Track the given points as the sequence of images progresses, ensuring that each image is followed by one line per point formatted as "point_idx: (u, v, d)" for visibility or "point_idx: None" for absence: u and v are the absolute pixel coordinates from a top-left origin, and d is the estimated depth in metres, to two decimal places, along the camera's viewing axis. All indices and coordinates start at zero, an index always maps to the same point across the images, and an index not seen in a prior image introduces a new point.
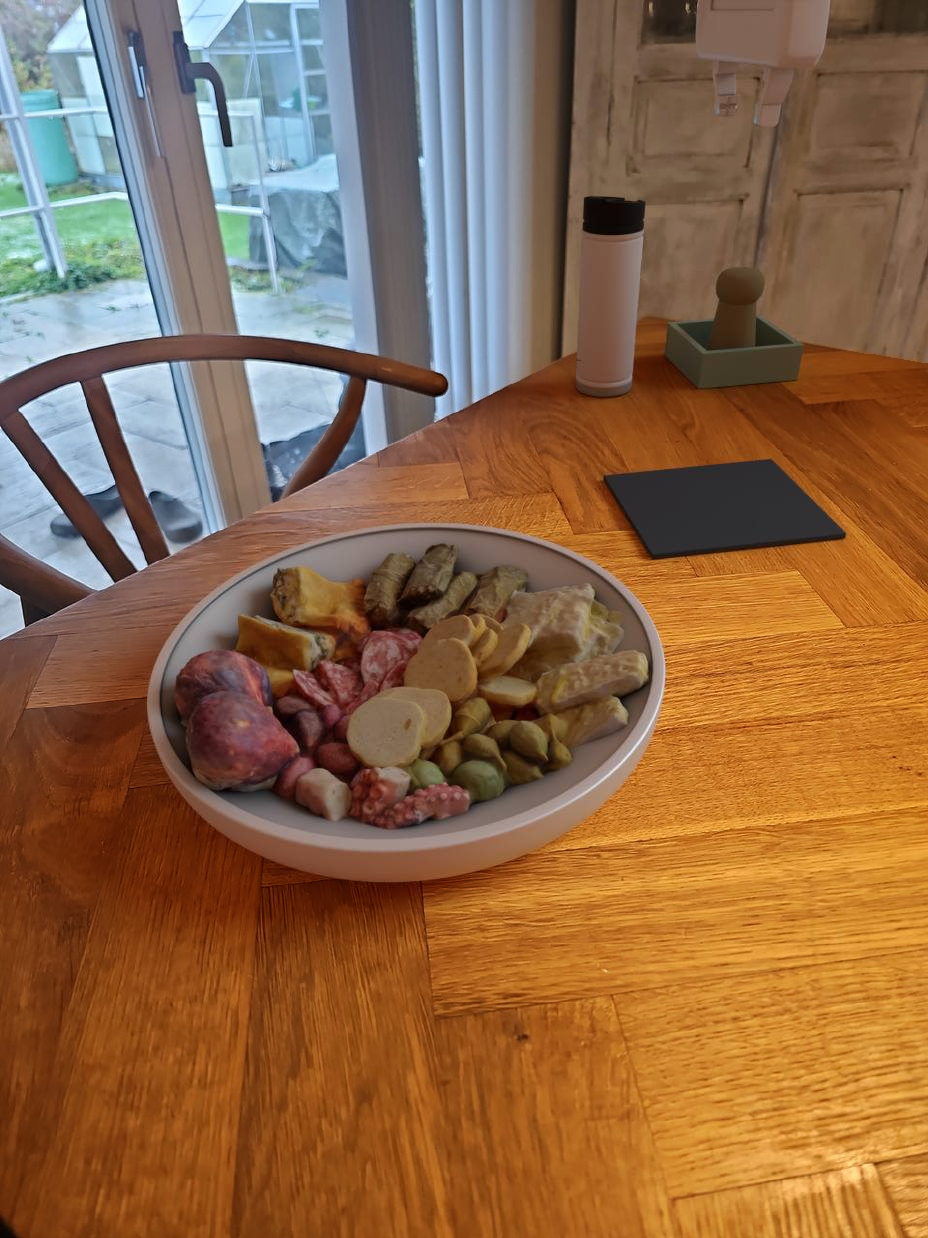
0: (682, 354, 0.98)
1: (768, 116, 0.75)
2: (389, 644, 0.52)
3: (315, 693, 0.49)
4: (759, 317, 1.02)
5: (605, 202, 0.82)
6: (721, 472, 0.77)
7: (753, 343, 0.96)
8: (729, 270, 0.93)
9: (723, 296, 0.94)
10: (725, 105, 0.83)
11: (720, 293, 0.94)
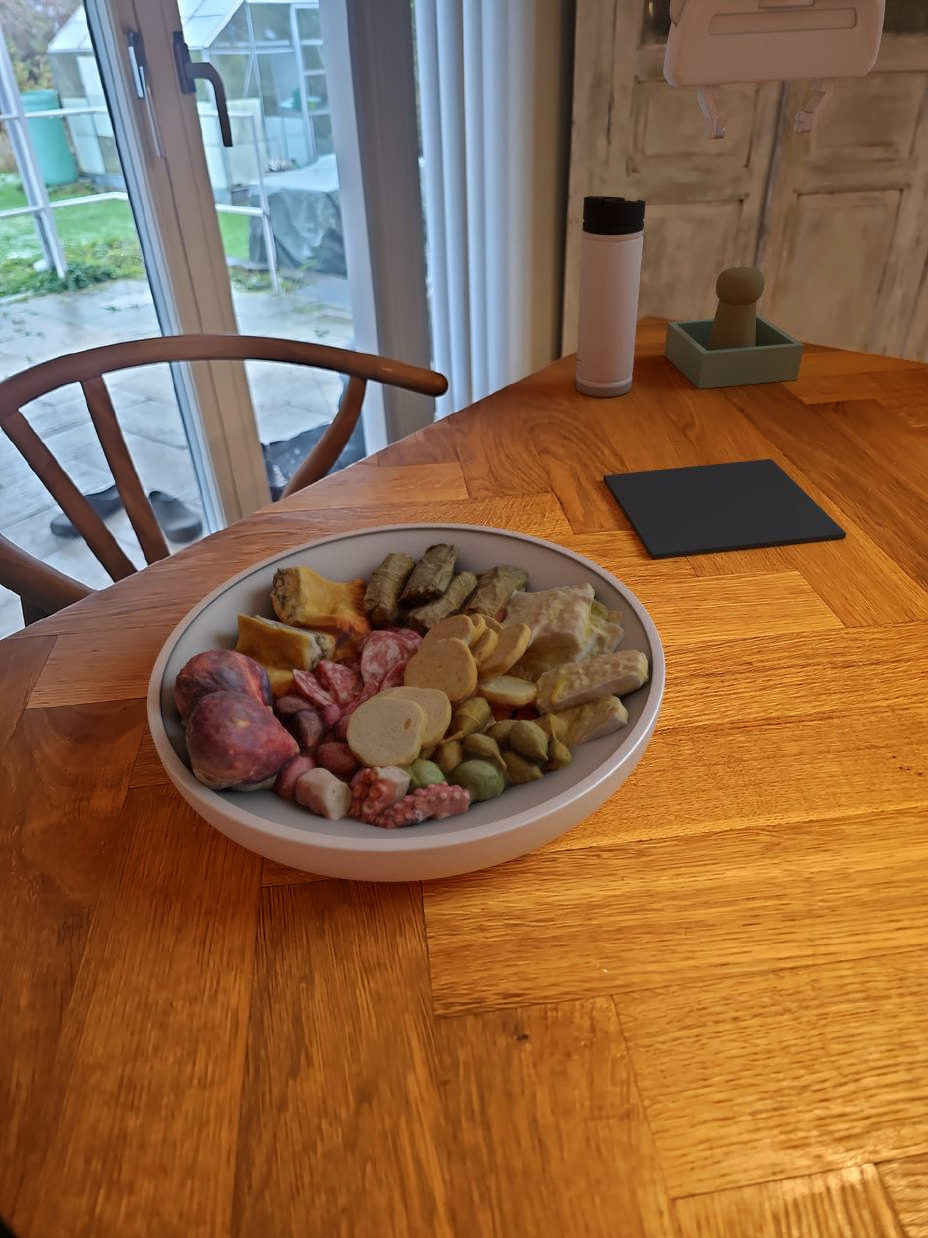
0: (682, 354, 0.98)
1: (707, 129, 0.84)
2: (389, 644, 0.52)
3: (315, 693, 0.49)
4: (759, 317, 1.02)
5: (605, 202, 0.82)
6: (721, 472, 0.77)
7: (753, 343, 0.96)
8: (729, 270, 0.93)
9: (723, 296, 0.94)
10: (797, 121, 0.85)
11: (720, 293, 0.94)
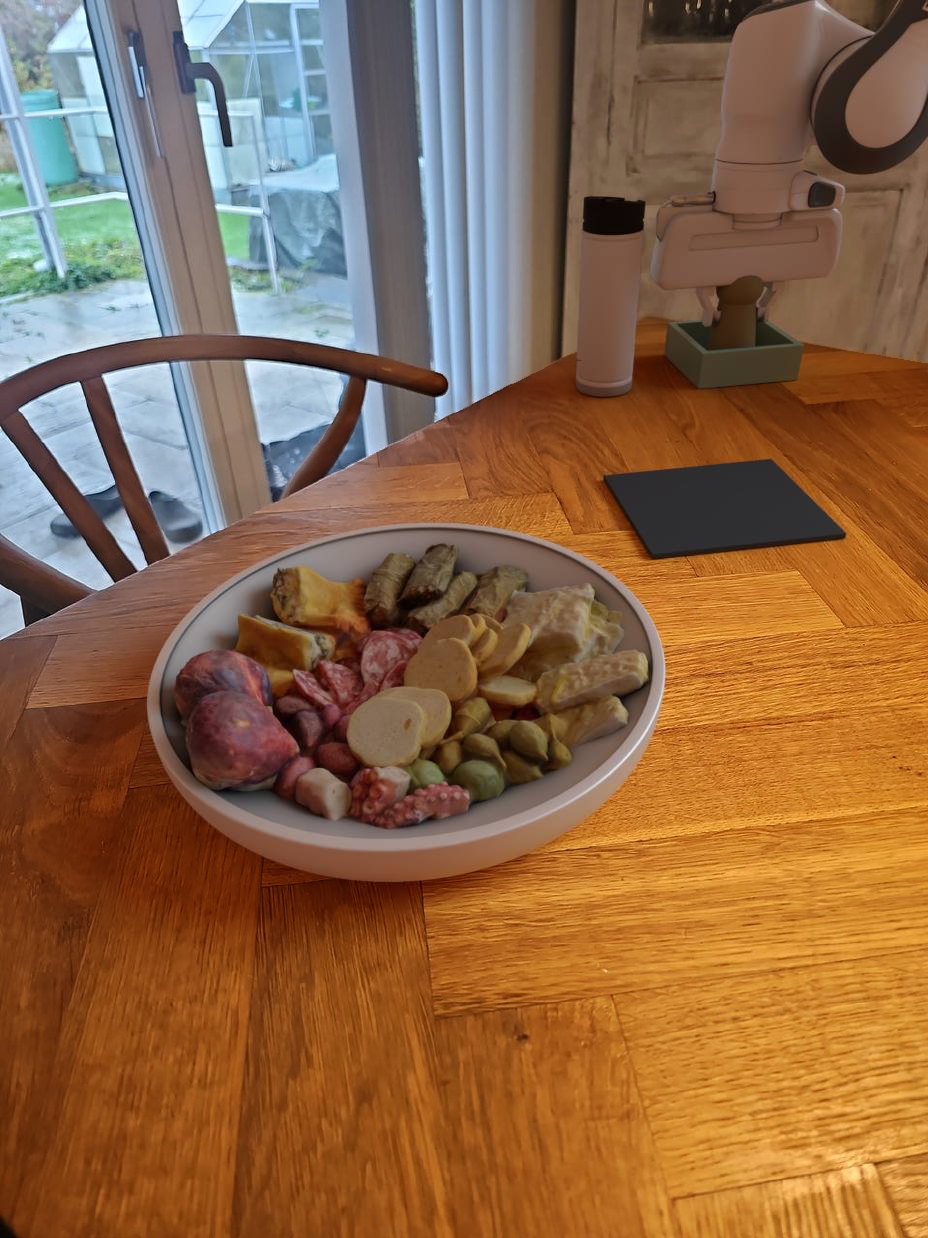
0: (682, 354, 0.98)
1: (704, 317, 0.96)
2: (389, 644, 0.52)
3: (315, 693, 0.49)
4: None
5: (605, 202, 0.82)
6: (721, 472, 0.77)
7: (753, 343, 0.96)
8: None
9: (723, 296, 0.94)
10: None
11: (720, 293, 0.94)
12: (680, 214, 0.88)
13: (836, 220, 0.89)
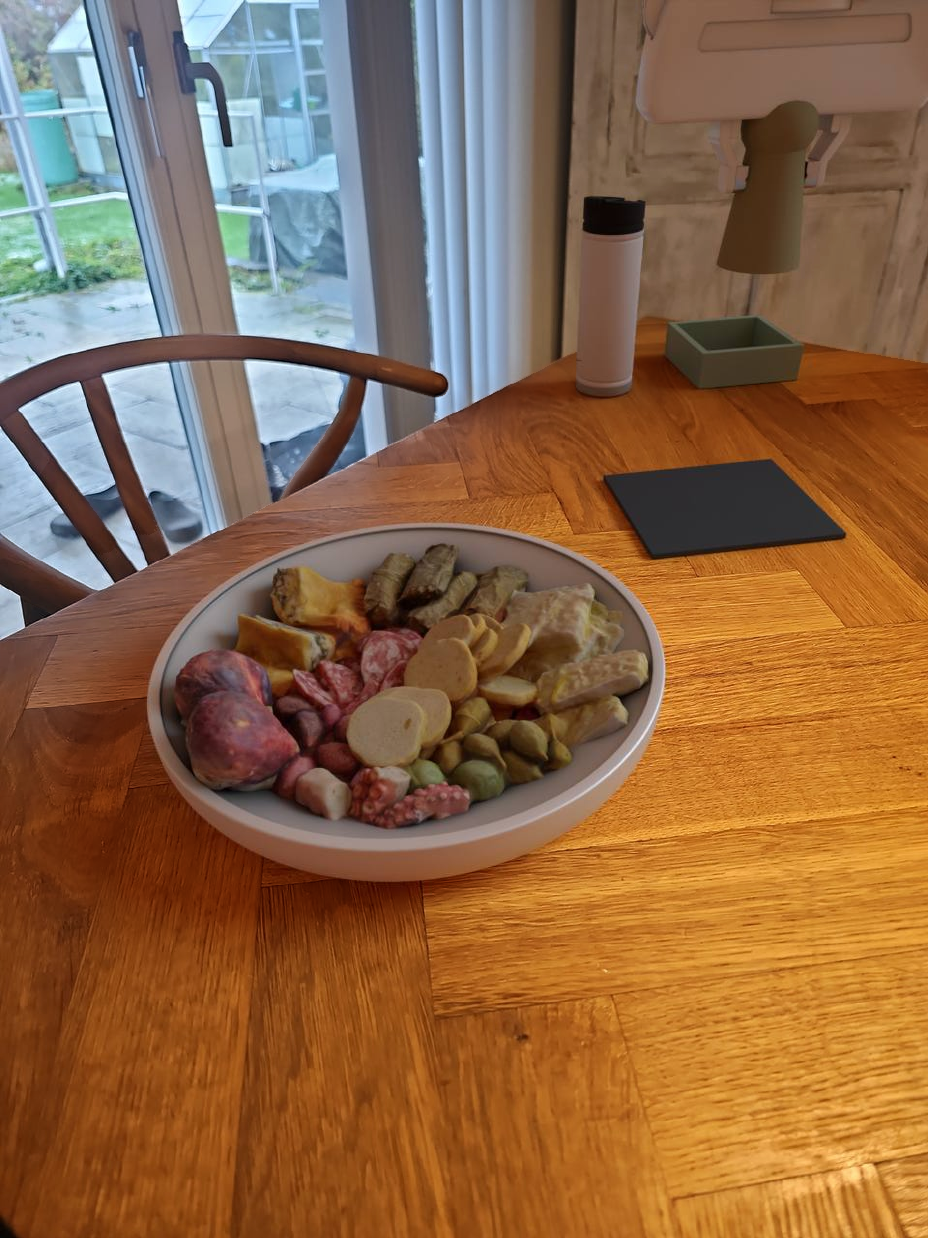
0: (682, 354, 0.98)
1: (722, 179, 0.60)
2: (389, 644, 0.52)
3: (315, 693, 0.49)
4: (759, 317, 1.02)
5: (605, 202, 0.82)
6: (721, 472, 0.77)
7: (799, 221, 0.61)
8: None
9: (753, 139, 0.58)
10: None
11: (748, 135, 0.58)
12: None
13: None
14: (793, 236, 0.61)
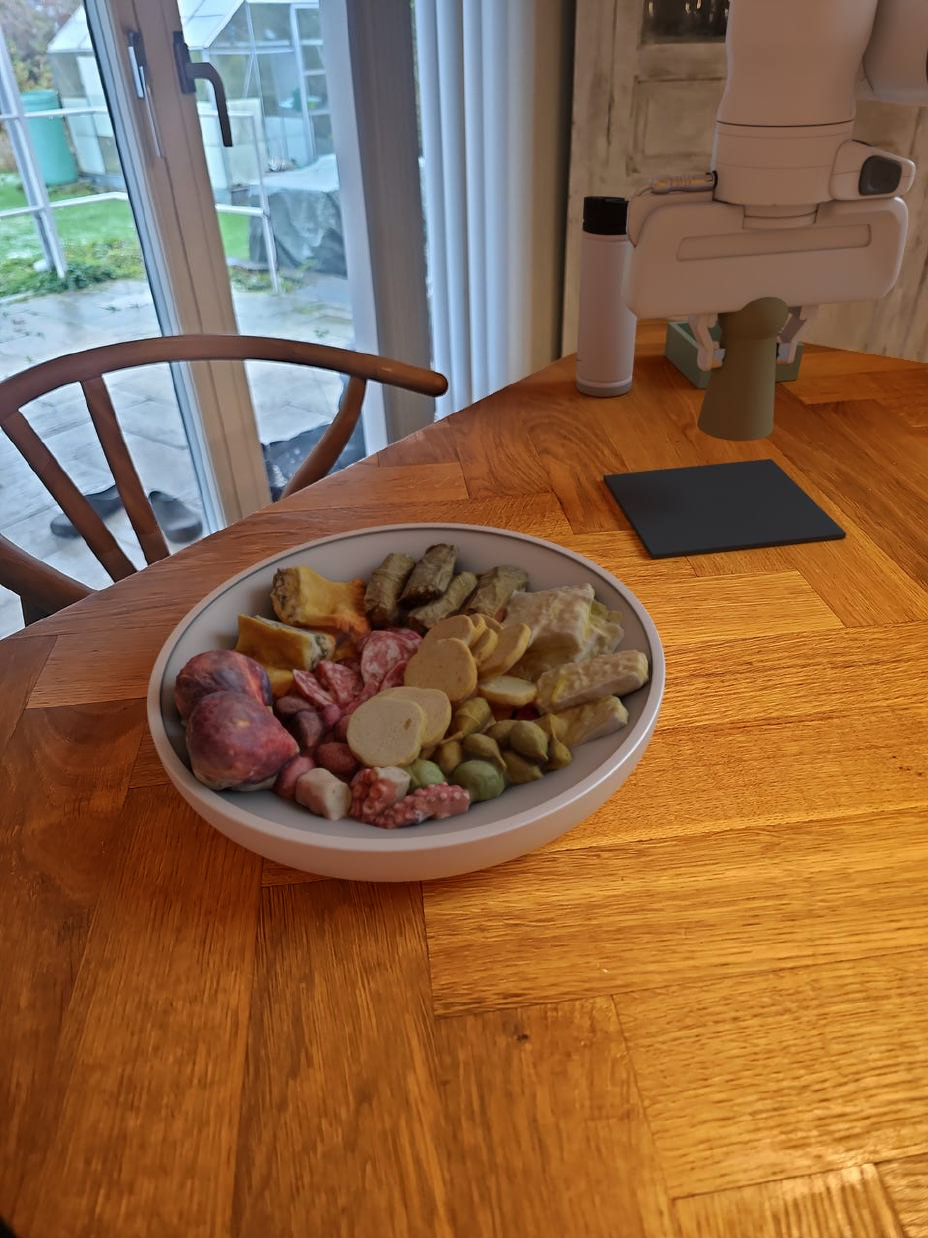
0: (682, 354, 0.98)
1: (700, 357, 0.66)
2: (389, 644, 0.52)
3: (315, 693, 0.49)
4: None
5: (605, 202, 0.82)
6: (721, 472, 0.77)
7: (771, 394, 0.66)
8: None
9: (728, 327, 0.64)
10: None
11: (724, 323, 0.64)
12: (664, 206, 0.58)
13: (899, 215, 0.59)
14: (766, 408, 0.66)
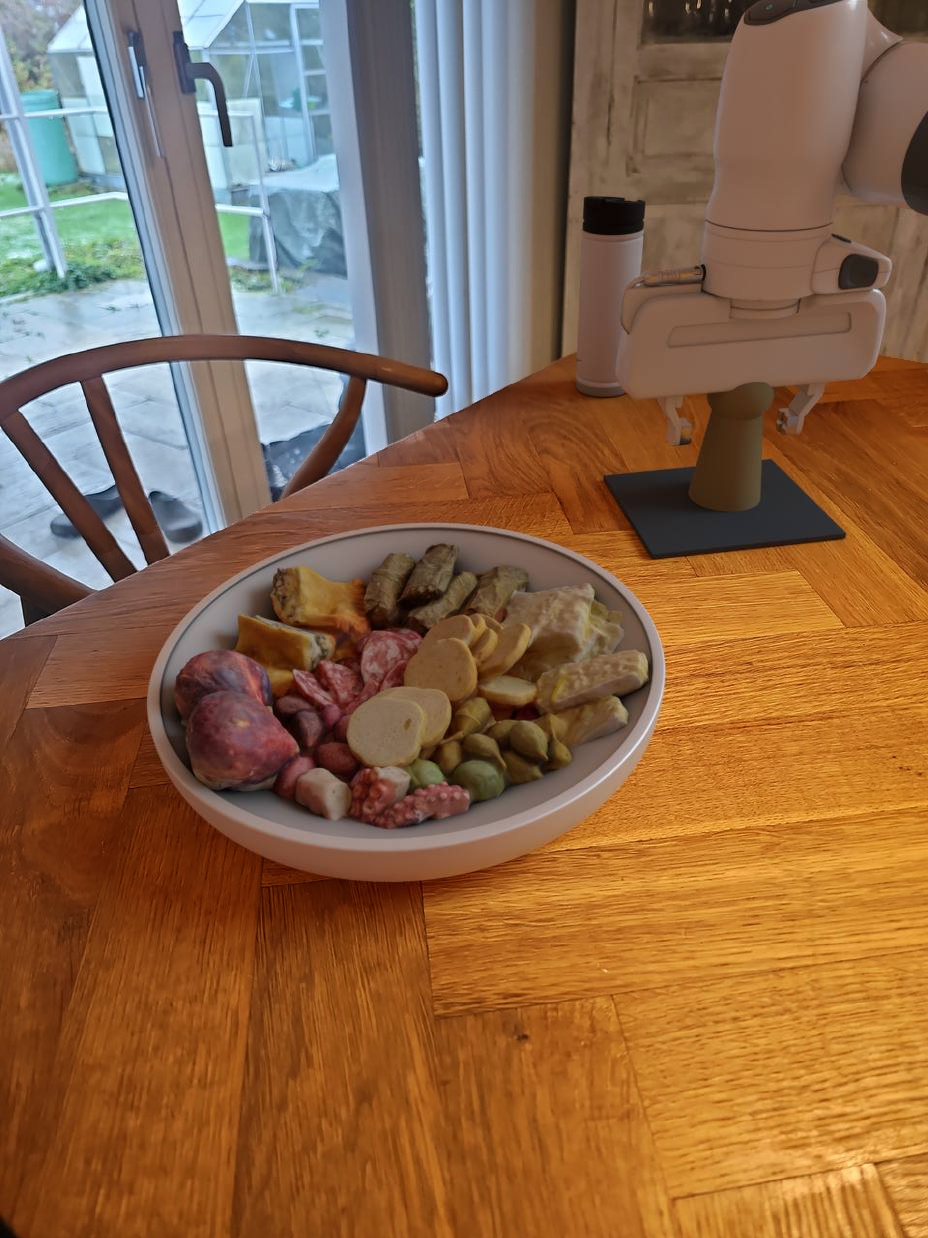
0: None
1: (669, 433, 0.69)
2: (389, 644, 0.52)
3: (315, 693, 0.49)
4: None
5: (605, 202, 0.82)
6: None
7: (758, 468, 0.70)
8: None
9: (717, 408, 0.67)
10: (779, 420, 0.70)
11: (713, 404, 0.67)
12: (656, 298, 0.62)
13: (877, 305, 0.63)
14: (754, 481, 0.70)
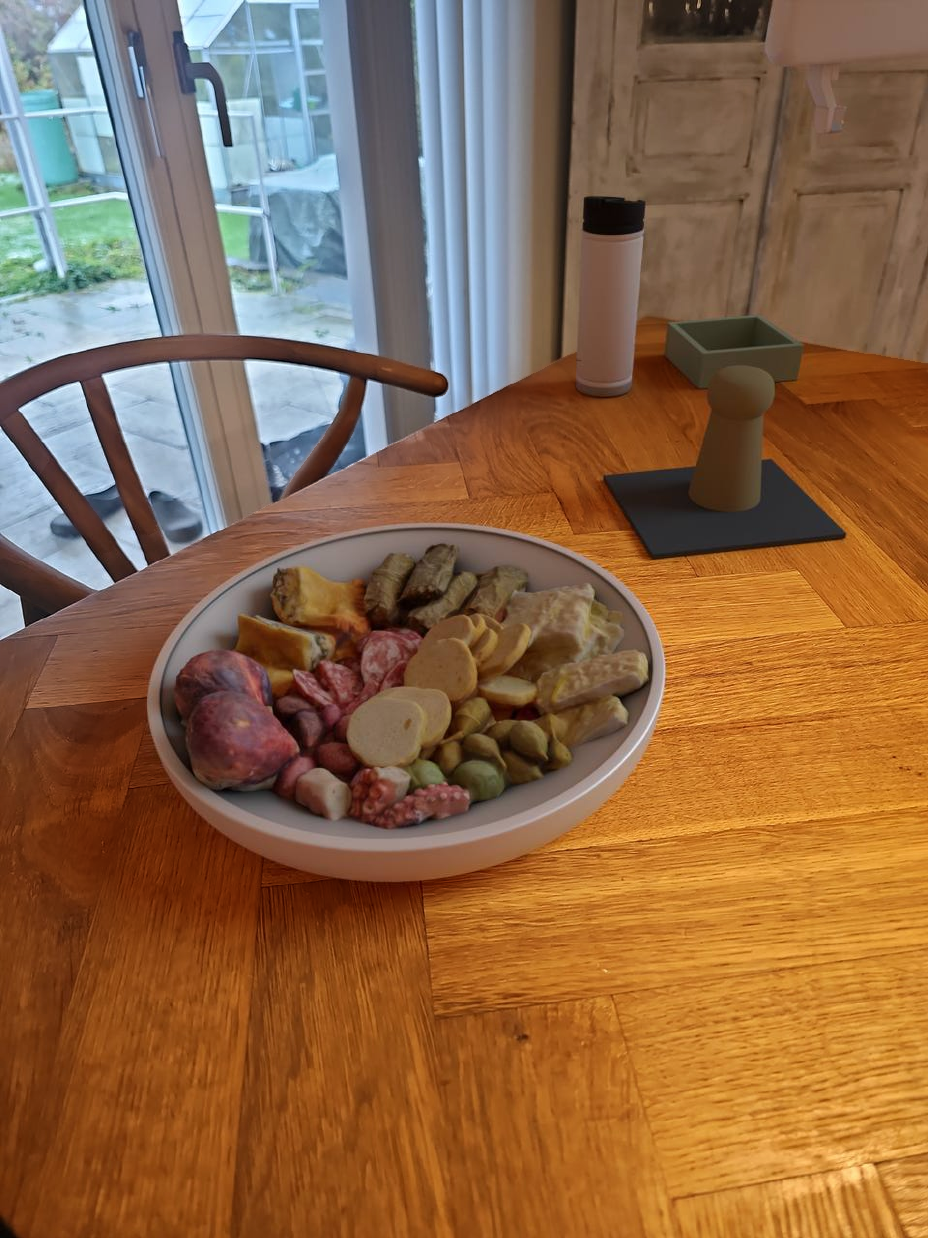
0: (682, 354, 0.98)
1: (819, 121, 0.65)
2: (389, 644, 0.52)
3: (315, 693, 0.49)
4: (759, 317, 1.02)
5: (605, 202, 0.82)
6: None
7: (758, 468, 0.70)
8: (725, 372, 0.67)
9: (717, 408, 0.67)
10: None
11: (713, 404, 0.67)
12: None
13: None
14: (754, 481, 0.70)
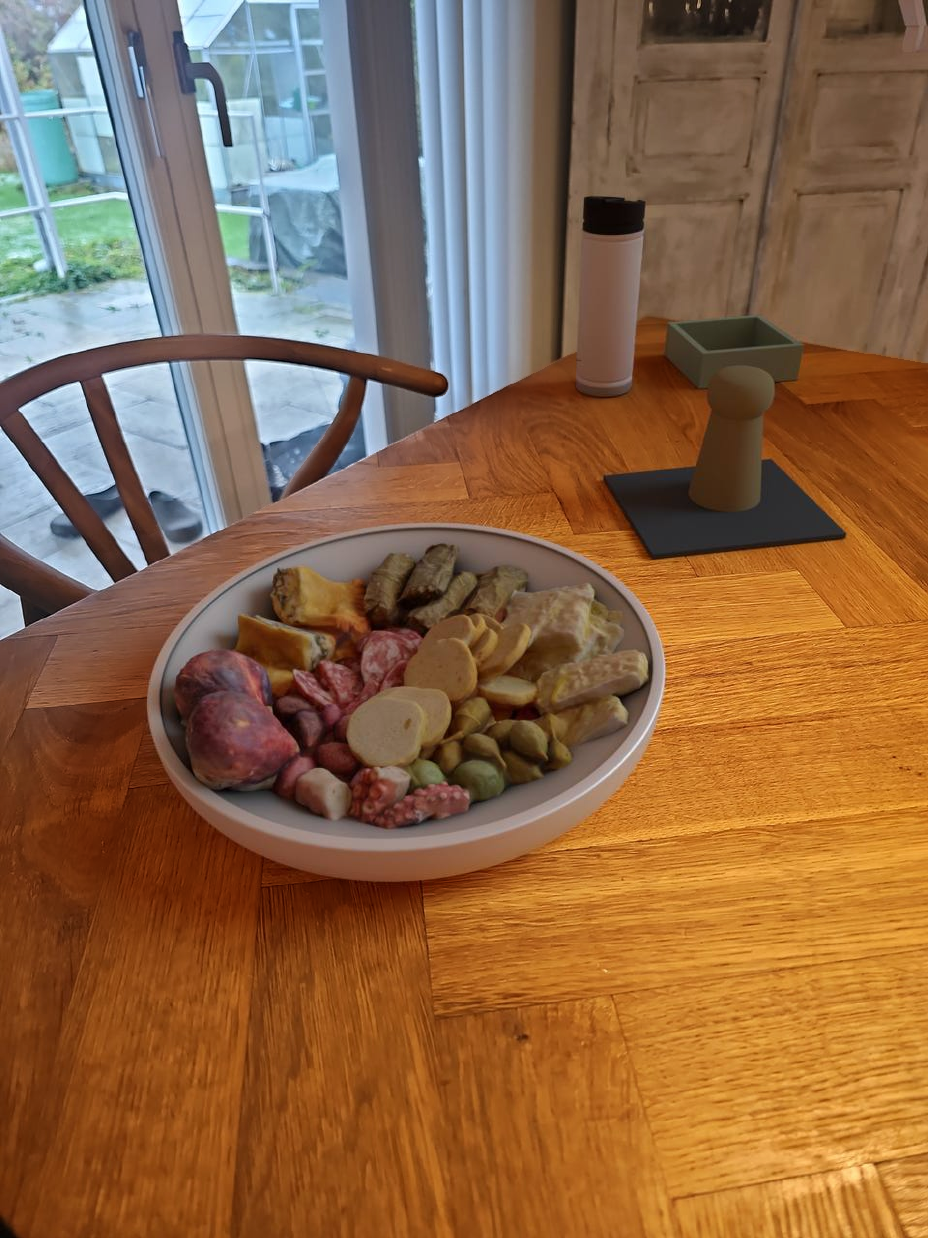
0: (682, 354, 0.98)
1: (908, 40, 0.69)
2: (389, 644, 0.52)
3: (315, 693, 0.49)
4: (759, 317, 1.02)
5: (605, 202, 0.82)
6: None
7: (758, 468, 0.70)
8: (725, 372, 0.67)
9: (717, 408, 0.67)
10: None
11: (713, 404, 0.67)
12: None
13: None
14: (754, 481, 0.70)
